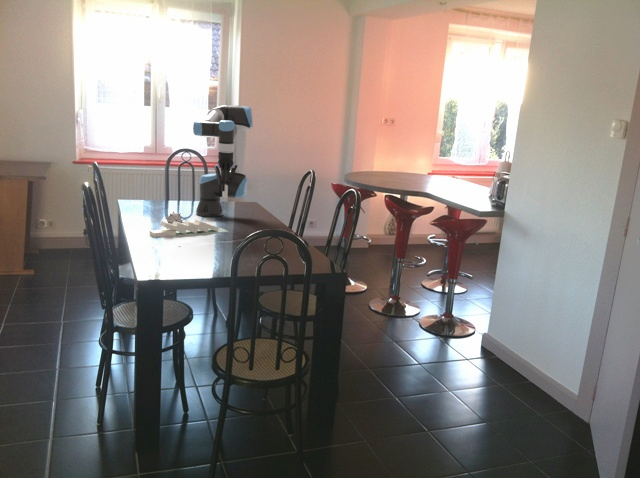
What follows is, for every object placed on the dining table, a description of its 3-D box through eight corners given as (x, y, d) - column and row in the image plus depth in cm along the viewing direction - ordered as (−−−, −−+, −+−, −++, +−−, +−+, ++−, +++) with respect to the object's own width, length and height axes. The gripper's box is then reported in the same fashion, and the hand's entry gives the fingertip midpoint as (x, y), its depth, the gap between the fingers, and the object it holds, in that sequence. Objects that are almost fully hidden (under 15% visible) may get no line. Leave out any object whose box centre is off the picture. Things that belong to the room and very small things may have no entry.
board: (220, 229, 303) (220, 227, 302) (229, 233, 296) (229, 231, 296) (164, 234, 285) (164, 232, 284) (172, 238, 278) (172, 236, 277)
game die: (172, 236, 298) (163, 222, 291) (169, 226, 304) (160, 213, 298) (188, 227, 299) (180, 213, 293) (184, 218, 306) (176, 204, 299)
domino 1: (171, 228, 284) (149, 230, 277) (176, 230, 280) (153, 233, 274) (171, 232, 284) (149, 235, 278) (176, 235, 281) (154, 237, 274)
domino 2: (182, 227, 287) (162, 221, 280) (186, 230, 283) (166, 223, 276) (180, 231, 287) (160, 225, 280) (185, 233, 283) (164, 227, 276)
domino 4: (204, 226, 294) (185, 220, 287) (208, 228, 290) (189, 222, 283) (202, 230, 294) (183, 224, 287) (207, 232, 290) (188, 226, 283)
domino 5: (214, 225, 298) (195, 219, 291) (218, 227, 294) (200, 221, 287) (212, 229, 298) (194, 223, 291) (217, 231, 294) (198, 225, 287)
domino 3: (193, 227, 291) (173, 220, 284) (197, 229, 287) (178, 222, 280) (191, 231, 291) (172, 224, 284) (196, 233, 287) (176, 226, 280)
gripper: (233, 150, 306) (232, 194, 312) (210, 150, 297) (210, 196, 304) (240, 152, 300) (239, 197, 306) (218, 153, 292) (217, 199, 298)
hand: (224, 197), depth 305 cm, fingers closed
